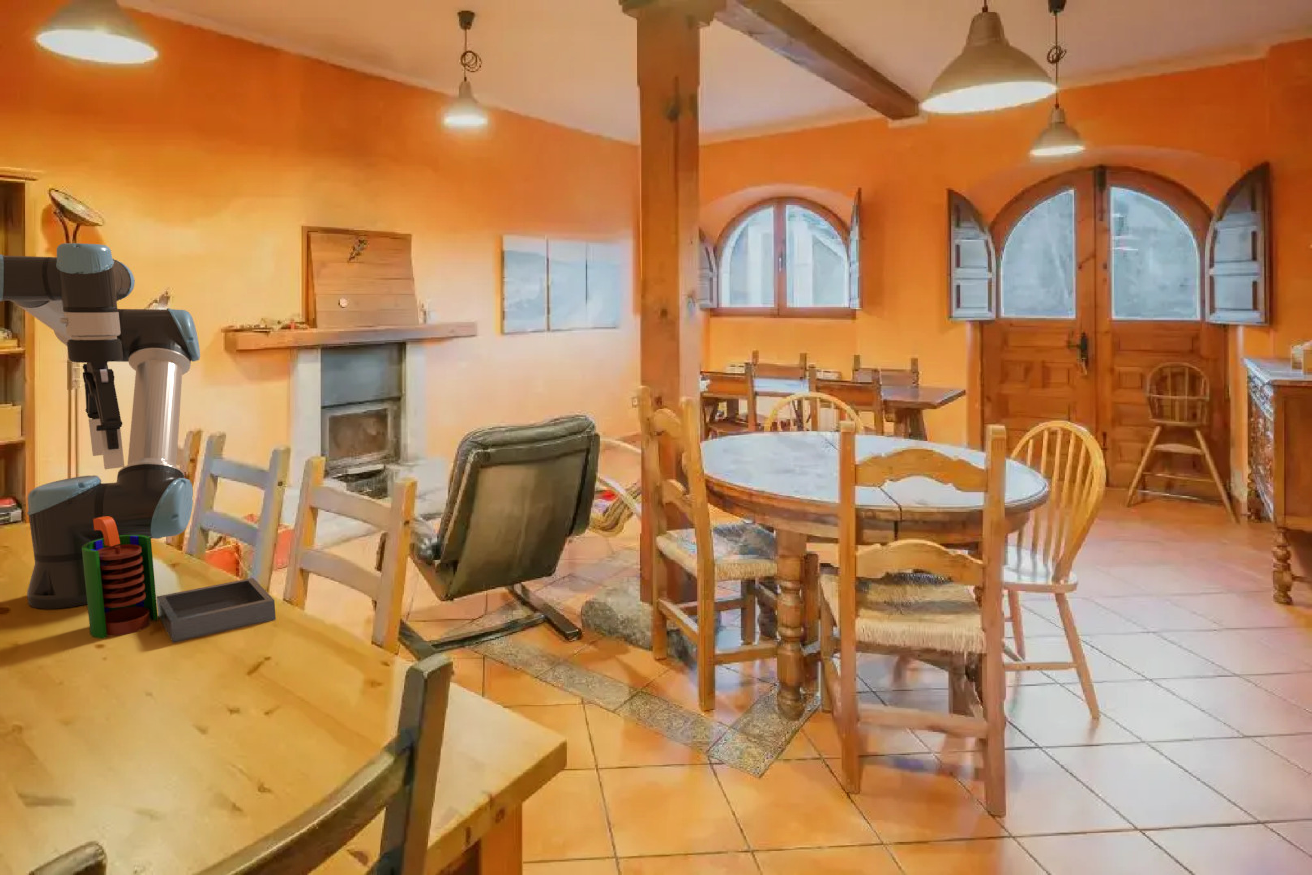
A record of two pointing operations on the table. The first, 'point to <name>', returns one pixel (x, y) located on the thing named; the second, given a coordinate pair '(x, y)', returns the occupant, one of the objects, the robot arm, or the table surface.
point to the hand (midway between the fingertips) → (108, 461)
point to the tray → (214, 609)
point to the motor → (118, 581)
